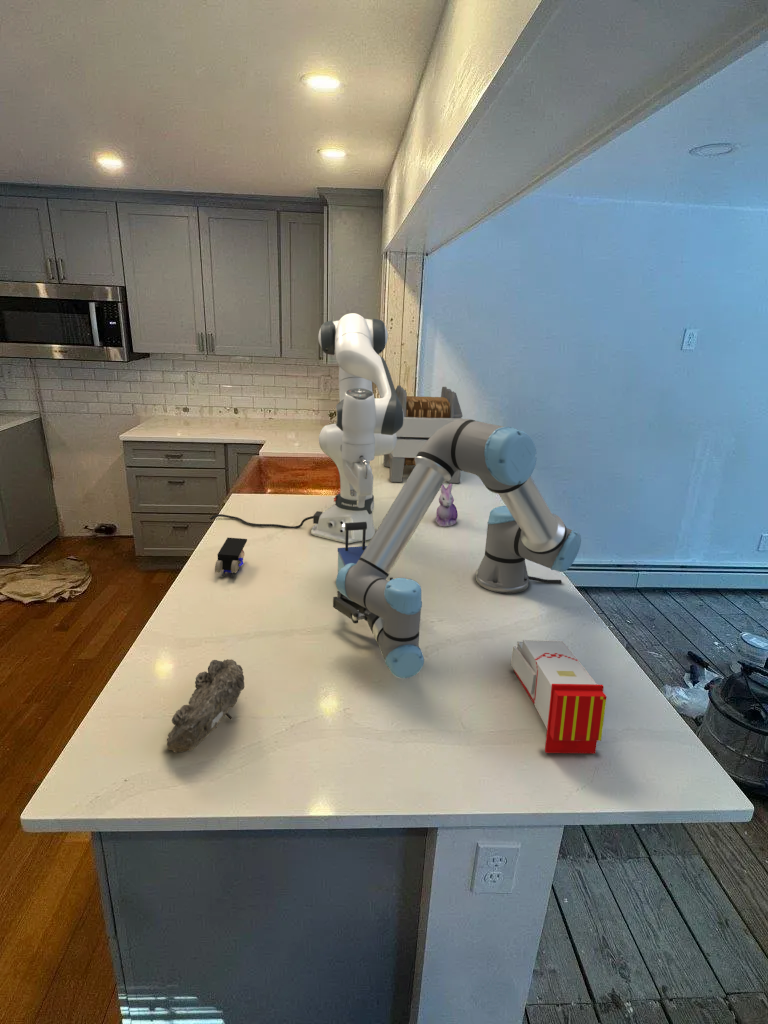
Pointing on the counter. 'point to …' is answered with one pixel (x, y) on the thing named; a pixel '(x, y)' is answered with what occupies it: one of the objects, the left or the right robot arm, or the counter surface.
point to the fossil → (206, 705)
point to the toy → (561, 695)
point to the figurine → (446, 508)
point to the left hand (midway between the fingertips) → (356, 501)
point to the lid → (353, 553)
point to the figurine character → (230, 556)
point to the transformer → (420, 428)
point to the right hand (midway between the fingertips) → (365, 584)
